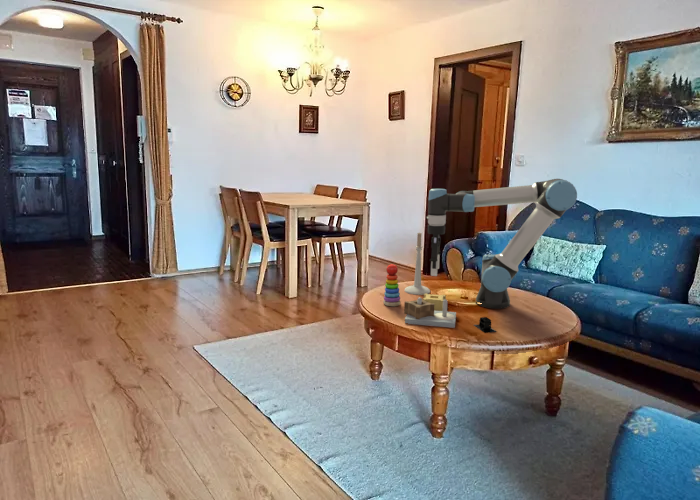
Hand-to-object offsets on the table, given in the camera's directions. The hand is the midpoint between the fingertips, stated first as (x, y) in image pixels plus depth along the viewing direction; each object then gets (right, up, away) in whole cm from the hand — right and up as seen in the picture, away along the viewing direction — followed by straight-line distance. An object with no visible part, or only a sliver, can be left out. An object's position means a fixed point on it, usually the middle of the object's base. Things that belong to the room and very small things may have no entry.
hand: (435, 272), depth 221 cm
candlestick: (-4, -11, +29) cm, 32 cm away
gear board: (-4, -19, -13) cm, 24 cm away
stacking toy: (-19, -15, +8) cm, 25 cm away
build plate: (+16, -22, -22) cm, 35 cm away
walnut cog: (-9, -17, -12) cm, 23 cm away
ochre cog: (0, -16, +3) cm, 16 cm away
